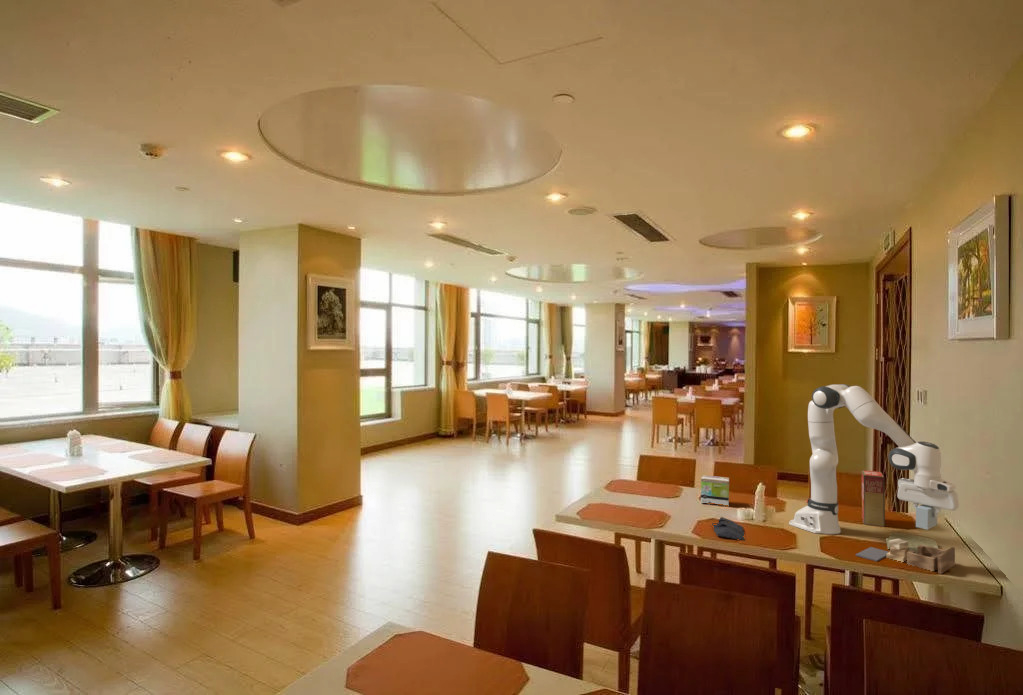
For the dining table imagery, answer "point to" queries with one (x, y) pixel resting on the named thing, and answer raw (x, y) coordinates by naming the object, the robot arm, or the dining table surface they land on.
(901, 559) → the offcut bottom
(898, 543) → the offcut top
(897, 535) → the decorative tile
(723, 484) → the tea box
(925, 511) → the light blue rectangular block
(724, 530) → the dark slate chunk
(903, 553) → the offcut middle
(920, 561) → the rack
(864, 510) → the food packaging
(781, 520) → the dining table surface
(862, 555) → the mat
